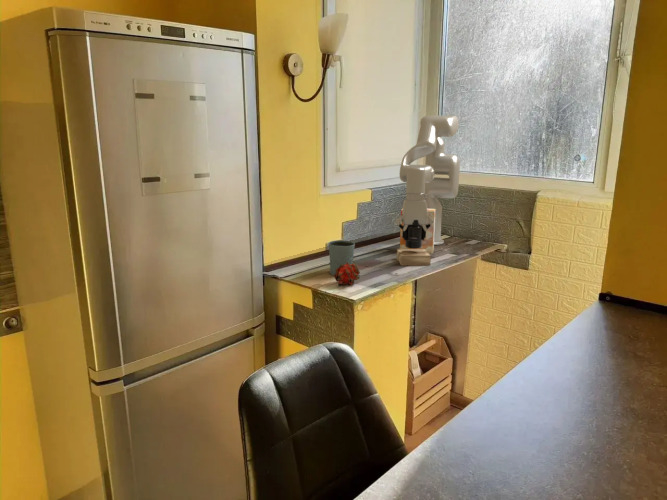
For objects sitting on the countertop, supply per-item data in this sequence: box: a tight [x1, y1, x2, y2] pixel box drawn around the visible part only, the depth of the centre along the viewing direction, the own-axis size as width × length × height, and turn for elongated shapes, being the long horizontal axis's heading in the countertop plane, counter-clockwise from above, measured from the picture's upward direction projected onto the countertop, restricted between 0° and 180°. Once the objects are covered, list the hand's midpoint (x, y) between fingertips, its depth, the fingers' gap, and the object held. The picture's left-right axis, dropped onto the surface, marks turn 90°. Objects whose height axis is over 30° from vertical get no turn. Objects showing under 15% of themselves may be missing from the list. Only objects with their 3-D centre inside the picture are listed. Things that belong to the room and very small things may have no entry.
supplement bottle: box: [405, 220, 423, 249], centre depth 217 cm, size 7×7×12 cm
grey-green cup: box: [328, 239, 356, 276], centre depth 203 cm, size 10×10×12 cm
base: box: [396, 248, 432, 266], centre depth 220 cm, size 12×12×4 cm
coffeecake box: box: [399, 207, 436, 255], centre depth 236 cm, size 15×7×20 cm, turn 76°
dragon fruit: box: [333, 262, 361, 286], centre depth 189 cm, size 8×8×12 cm
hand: (413, 239), depth 218 cm, fingers closed on supplement bottle, 6 cm apart
